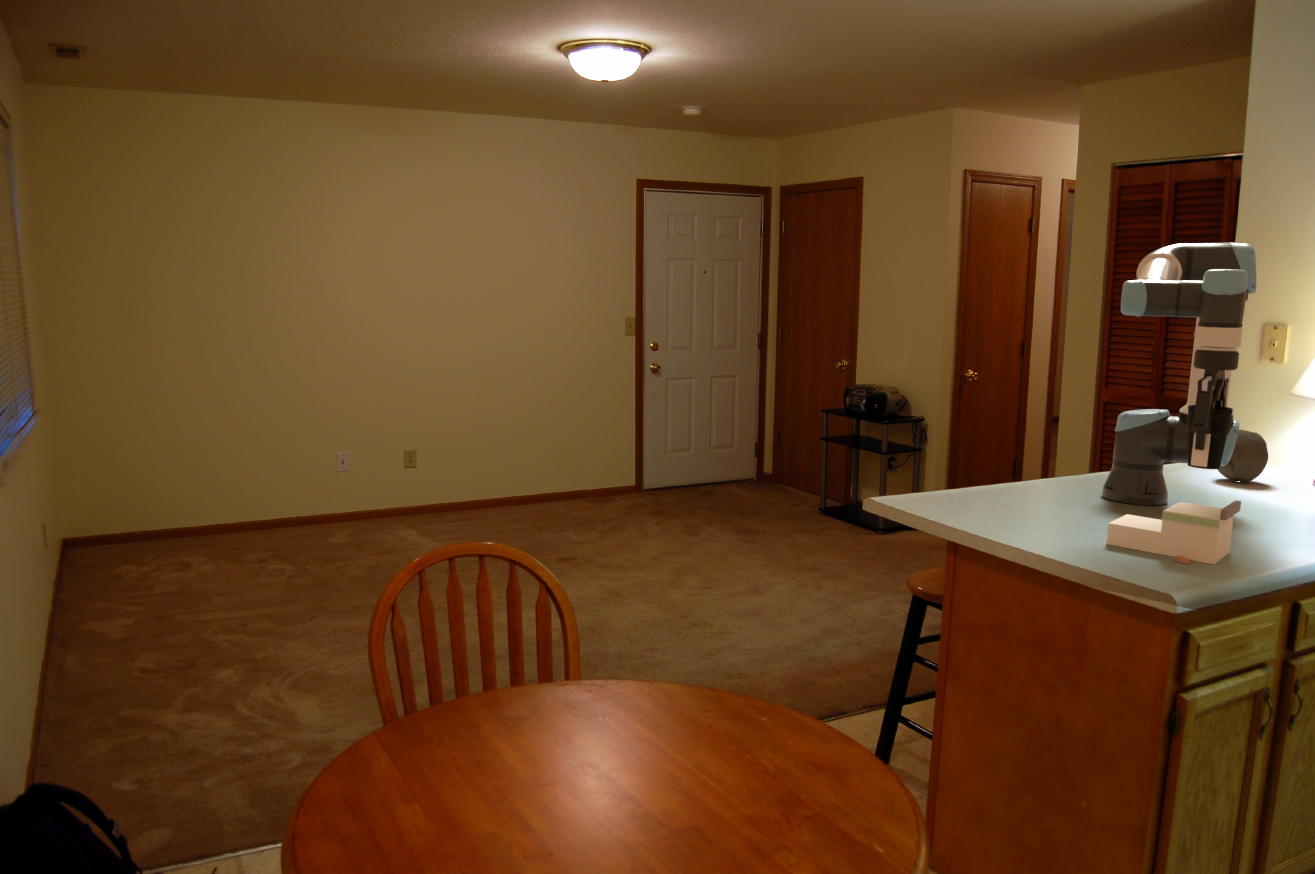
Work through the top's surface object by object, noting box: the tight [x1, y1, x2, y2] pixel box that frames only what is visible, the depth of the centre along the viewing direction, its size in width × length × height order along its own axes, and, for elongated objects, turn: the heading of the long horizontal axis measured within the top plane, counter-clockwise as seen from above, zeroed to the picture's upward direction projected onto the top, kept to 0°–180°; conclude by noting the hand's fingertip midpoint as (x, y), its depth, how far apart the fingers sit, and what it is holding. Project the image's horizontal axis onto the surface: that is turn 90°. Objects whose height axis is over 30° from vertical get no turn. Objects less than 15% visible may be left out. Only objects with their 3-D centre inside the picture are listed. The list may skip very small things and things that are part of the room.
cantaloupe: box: [1216, 428, 1269, 483], centre depth 265 cm, size 14×14×15 cm
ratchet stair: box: [1106, 499, 1242, 565], centre depth 189 cm, size 16×21×11 cm
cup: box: [1187, 405, 1234, 470], centre depth 185 cm, size 8×8×12 cm
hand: (1204, 463), depth 185 cm, fingers closed on cup, 8 cm apart
